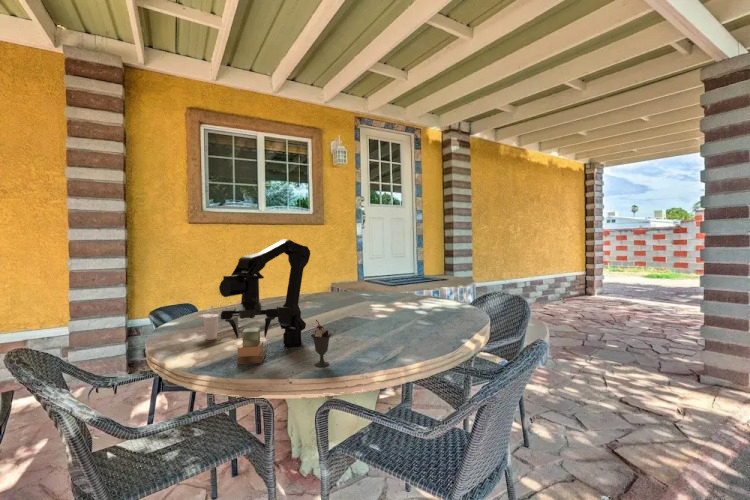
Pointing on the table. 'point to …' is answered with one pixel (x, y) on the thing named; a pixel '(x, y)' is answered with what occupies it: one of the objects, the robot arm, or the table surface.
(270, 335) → the table surface
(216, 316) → the smoothie
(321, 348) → the sundae
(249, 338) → the cube
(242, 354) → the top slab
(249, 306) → the robot arm
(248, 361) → the bottom slab
